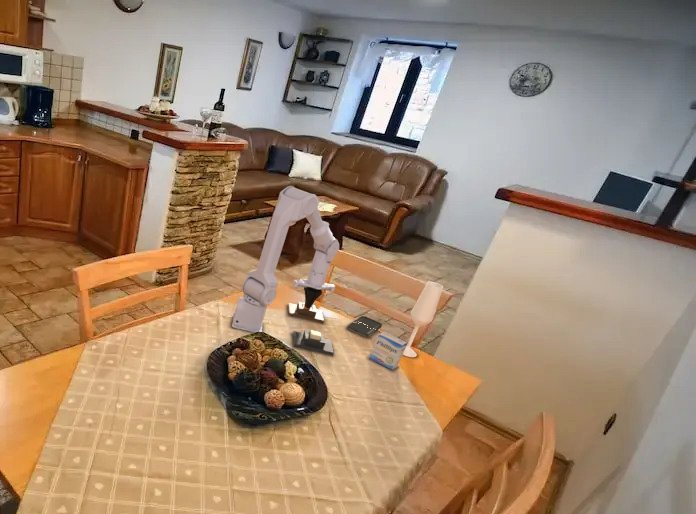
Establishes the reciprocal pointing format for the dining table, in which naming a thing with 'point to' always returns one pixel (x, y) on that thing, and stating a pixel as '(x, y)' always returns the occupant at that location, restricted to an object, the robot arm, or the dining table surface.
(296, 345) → the grey stepped holder
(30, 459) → the dining table surface
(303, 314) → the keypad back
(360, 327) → the phone
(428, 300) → the champagne flute
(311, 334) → the key
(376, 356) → the medicine box
